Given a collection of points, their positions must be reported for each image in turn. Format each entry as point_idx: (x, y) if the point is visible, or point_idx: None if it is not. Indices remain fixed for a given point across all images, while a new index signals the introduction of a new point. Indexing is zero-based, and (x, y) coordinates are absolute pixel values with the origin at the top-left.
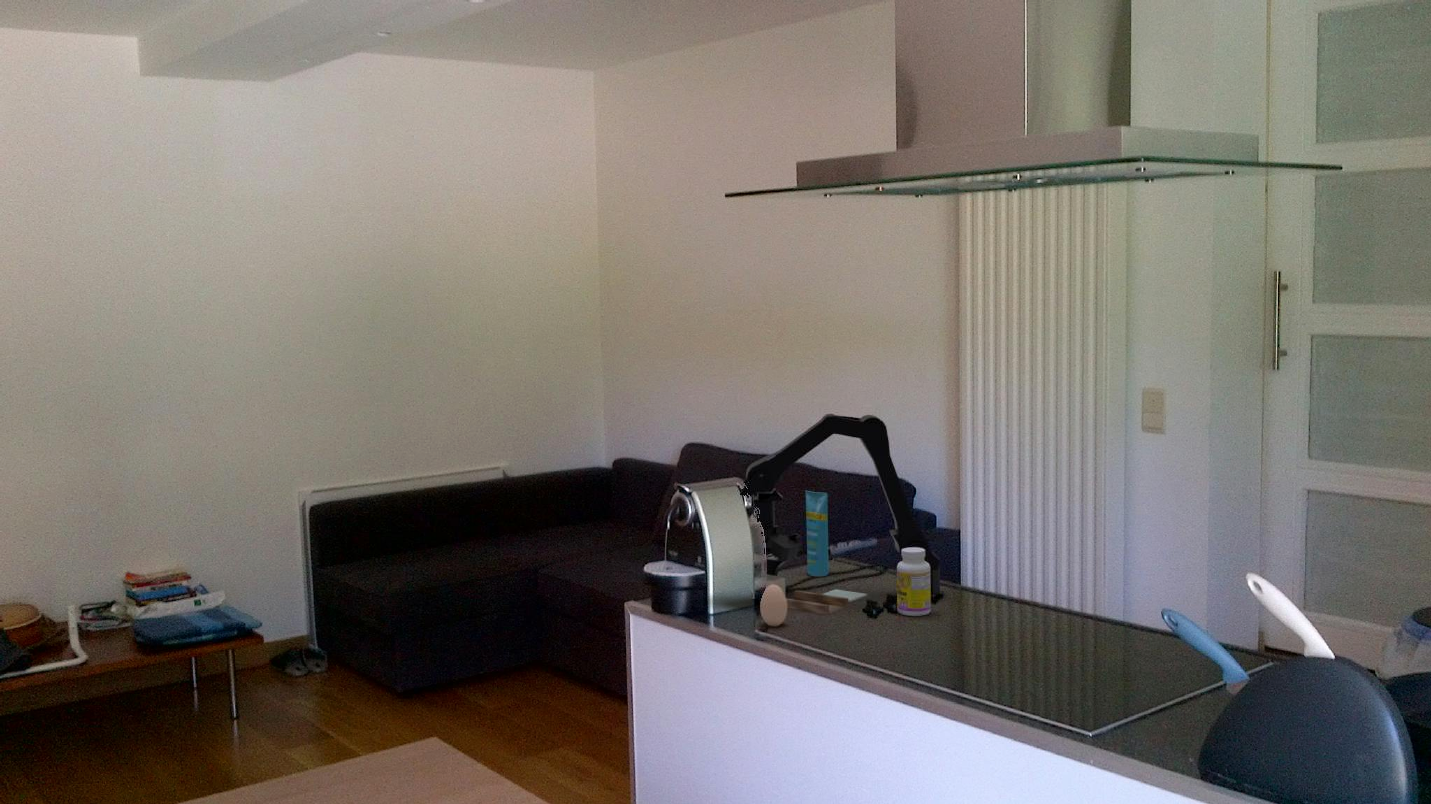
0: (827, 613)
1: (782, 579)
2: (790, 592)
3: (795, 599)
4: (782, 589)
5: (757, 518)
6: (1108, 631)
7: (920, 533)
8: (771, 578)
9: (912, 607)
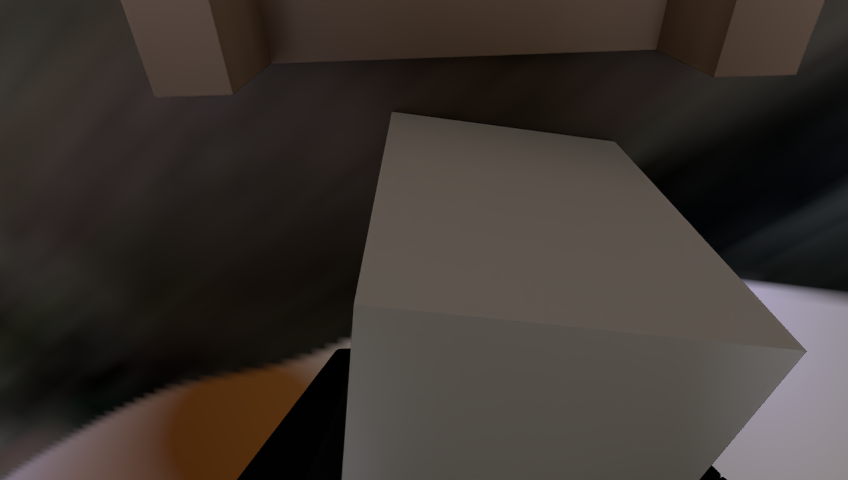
0: None
1: (445, 301)
2: (78, 302)
3: (276, 29)
4: (446, 188)
5: None
6: None
7: None
8: (546, 456)
9: None
